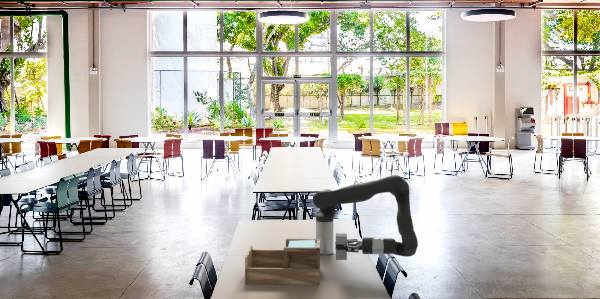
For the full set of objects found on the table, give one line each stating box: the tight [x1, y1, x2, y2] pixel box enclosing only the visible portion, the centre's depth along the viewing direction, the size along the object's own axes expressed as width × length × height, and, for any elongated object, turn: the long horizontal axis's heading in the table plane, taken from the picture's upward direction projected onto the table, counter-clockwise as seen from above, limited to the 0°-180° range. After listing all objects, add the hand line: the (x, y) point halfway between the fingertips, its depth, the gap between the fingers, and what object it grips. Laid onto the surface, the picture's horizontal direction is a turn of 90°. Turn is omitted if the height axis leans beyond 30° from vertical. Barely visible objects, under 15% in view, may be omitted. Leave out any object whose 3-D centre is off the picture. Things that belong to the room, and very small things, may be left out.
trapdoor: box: [288, 240, 316, 247], centre depth 275 cm, size 12×12×1 cm
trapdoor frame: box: [244, 238, 321, 286], centre depth 276 cm, size 20×33×16 cm, turn 87°
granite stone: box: [335, 232, 348, 261], centre depth 275 cm, size 5×5×11 cm
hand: (335, 245), depth 275 cm, fingers closed on granite stone, 5 cm apart
